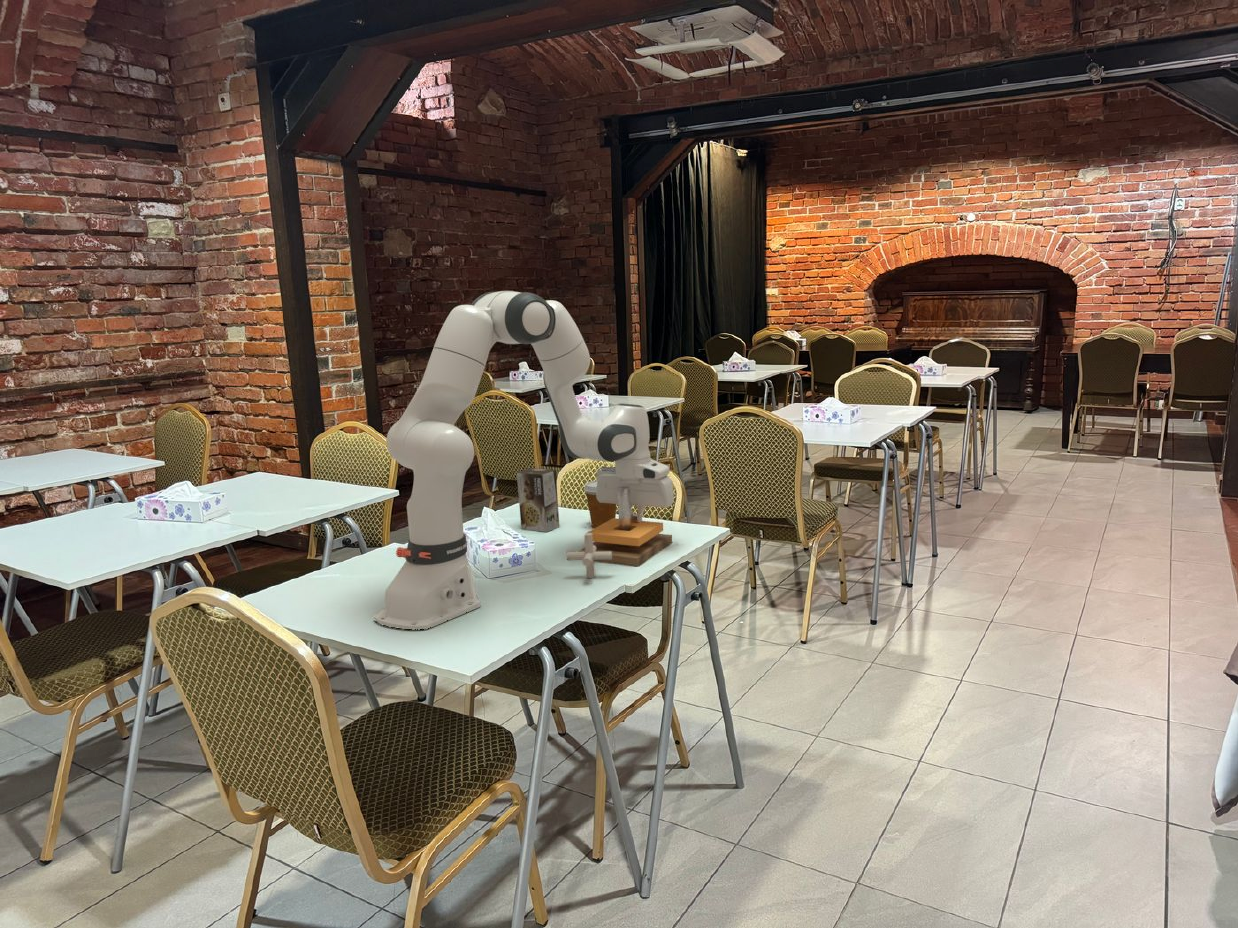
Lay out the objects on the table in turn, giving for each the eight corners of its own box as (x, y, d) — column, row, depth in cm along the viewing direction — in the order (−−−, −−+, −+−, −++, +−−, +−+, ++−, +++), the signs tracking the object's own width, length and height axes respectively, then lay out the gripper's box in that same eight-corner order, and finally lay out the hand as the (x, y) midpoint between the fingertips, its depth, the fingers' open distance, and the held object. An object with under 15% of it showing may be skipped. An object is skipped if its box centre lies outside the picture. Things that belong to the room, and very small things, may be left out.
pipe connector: (614, 569, 196) (612, 527, 194) (610, 584, 186) (608, 540, 184) (572, 569, 197) (569, 528, 195) (565, 584, 187) (562, 541, 185)
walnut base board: (637, 566, 197) (637, 558, 197) (578, 559, 204) (577, 551, 204) (672, 542, 215) (672, 534, 214) (616, 536, 222) (615, 529, 221)
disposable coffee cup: (587, 521, 237) (585, 480, 235) (621, 520, 237) (619, 478, 234) (584, 531, 228) (582, 488, 226) (620, 530, 228) (618, 486, 225)
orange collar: (638, 546, 200) (638, 538, 199) (586, 540, 206) (586, 532, 205) (663, 530, 212) (662, 522, 211) (613, 525, 218) (613, 518, 218)
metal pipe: (631, 547, 205) (628, 491, 203) (610, 545, 208) (607, 489, 205) (641, 540, 210) (638, 485, 208) (620, 538, 213) (618, 484, 210)
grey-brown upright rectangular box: (560, 526, 234) (557, 469, 231) (546, 532, 229) (542, 474, 225) (534, 523, 239) (530, 467, 235) (519, 529, 233) (515, 471, 230)
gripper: (590, 468, 212) (593, 521, 215) (665, 472, 203) (667, 528, 206) (602, 463, 218) (604, 515, 221) (675, 467, 209) (677, 521, 211)
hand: (635, 521), depth 213 cm, fingers closed, pressing on orange collar
